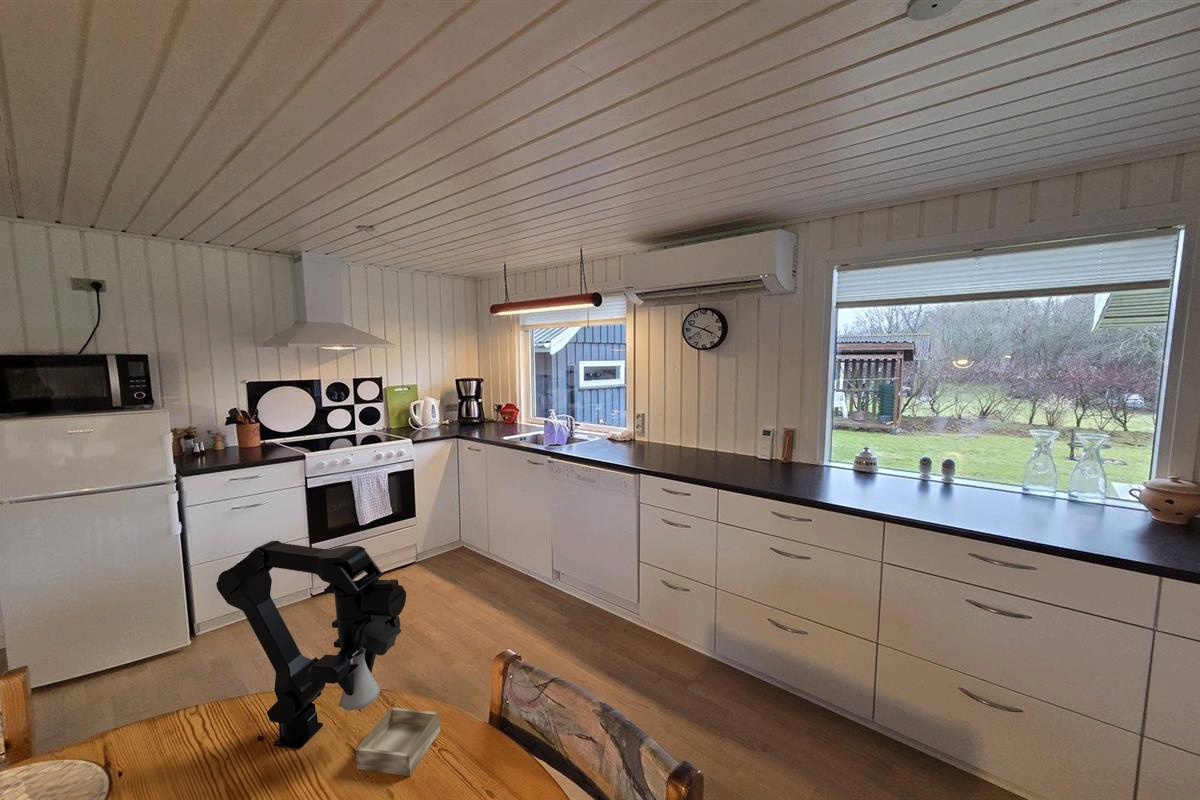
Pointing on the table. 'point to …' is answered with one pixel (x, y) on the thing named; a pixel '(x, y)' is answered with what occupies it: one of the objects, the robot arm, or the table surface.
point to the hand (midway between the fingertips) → (359, 685)
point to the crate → (398, 741)
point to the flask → (360, 686)
